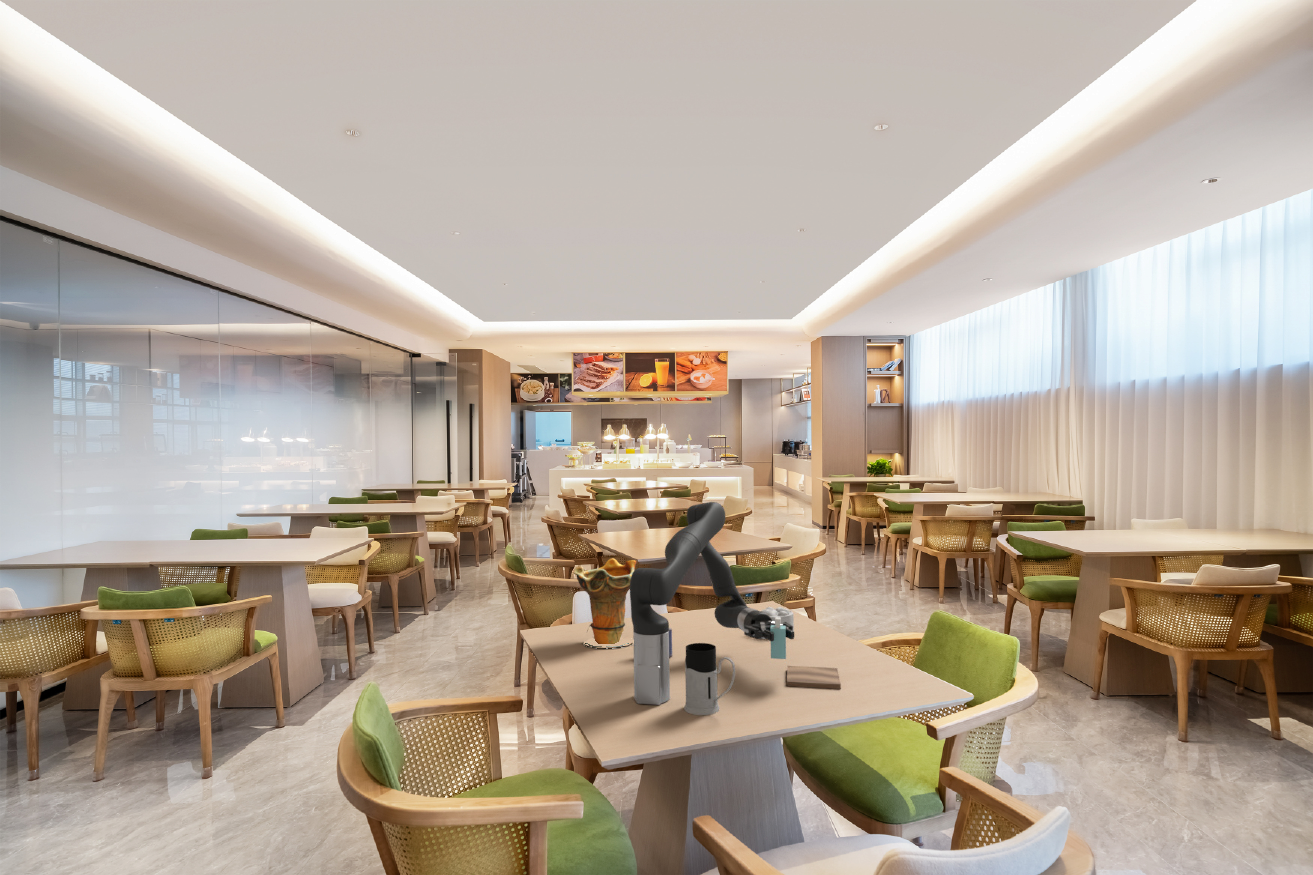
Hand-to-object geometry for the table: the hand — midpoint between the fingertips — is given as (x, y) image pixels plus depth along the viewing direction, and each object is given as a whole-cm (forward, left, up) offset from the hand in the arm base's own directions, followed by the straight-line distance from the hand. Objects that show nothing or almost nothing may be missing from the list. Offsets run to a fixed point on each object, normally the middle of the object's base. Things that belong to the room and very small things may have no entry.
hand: (782, 636), depth 177 cm
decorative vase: (+35, +59, -14) cm, 70 cm away
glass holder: (-21, +17, -14) cm, 30 cm away
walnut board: (+7, -8, -13) cm, 17 cm away
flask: (+21, +39, -14) cm, 47 cm away
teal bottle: (+2, +1, -6) cm, 7 cm away
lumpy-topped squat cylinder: (+55, +3, -14) cm, 57 cm away
